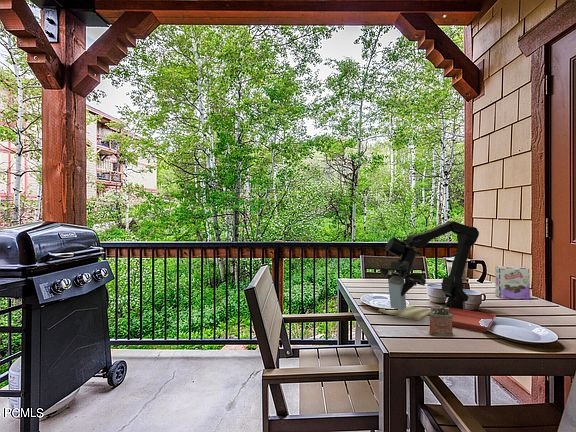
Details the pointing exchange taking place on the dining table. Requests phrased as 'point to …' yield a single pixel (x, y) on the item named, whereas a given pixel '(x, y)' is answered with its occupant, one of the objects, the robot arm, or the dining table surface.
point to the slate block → (396, 293)
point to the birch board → (409, 312)
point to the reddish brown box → (440, 322)
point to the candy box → (512, 282)
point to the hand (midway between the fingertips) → (395, 294)
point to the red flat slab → (469, 319)
